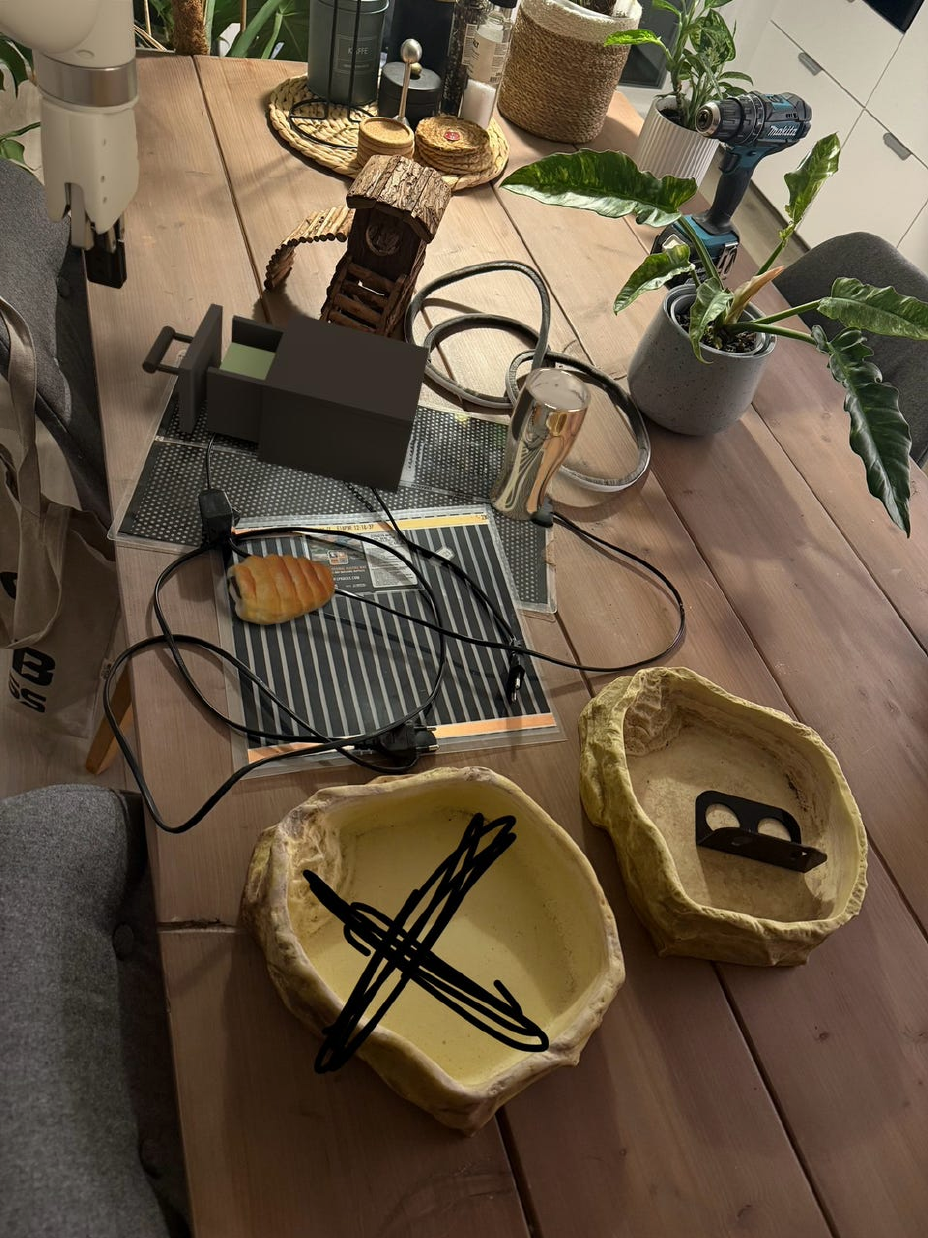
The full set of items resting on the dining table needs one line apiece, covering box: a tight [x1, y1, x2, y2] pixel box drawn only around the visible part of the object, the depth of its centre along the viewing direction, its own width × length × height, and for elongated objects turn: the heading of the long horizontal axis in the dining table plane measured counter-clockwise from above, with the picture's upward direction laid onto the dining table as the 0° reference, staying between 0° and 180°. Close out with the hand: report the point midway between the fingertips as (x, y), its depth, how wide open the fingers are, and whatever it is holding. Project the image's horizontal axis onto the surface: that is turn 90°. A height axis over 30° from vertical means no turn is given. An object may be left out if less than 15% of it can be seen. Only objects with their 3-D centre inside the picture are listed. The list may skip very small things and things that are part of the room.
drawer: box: [141, 303, 286, 444], centre depth 90 cm, size 18×11×8 cm, turn 84°
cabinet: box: [257, 312, 430, 494], centre depth 91 cm, size 15×13×10 cm
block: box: [219, 341, 275, 380], centre depth 90 cm, size 5×5×5 cm
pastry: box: [226, 553, 336, 626], centre depth 78 cm, size 9×7×4 cm
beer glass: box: [488, 367, 592, 521], centre depth 90 cm, size 7×7×15 cm
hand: (107, 280), depth 83 cm, fingers closed
